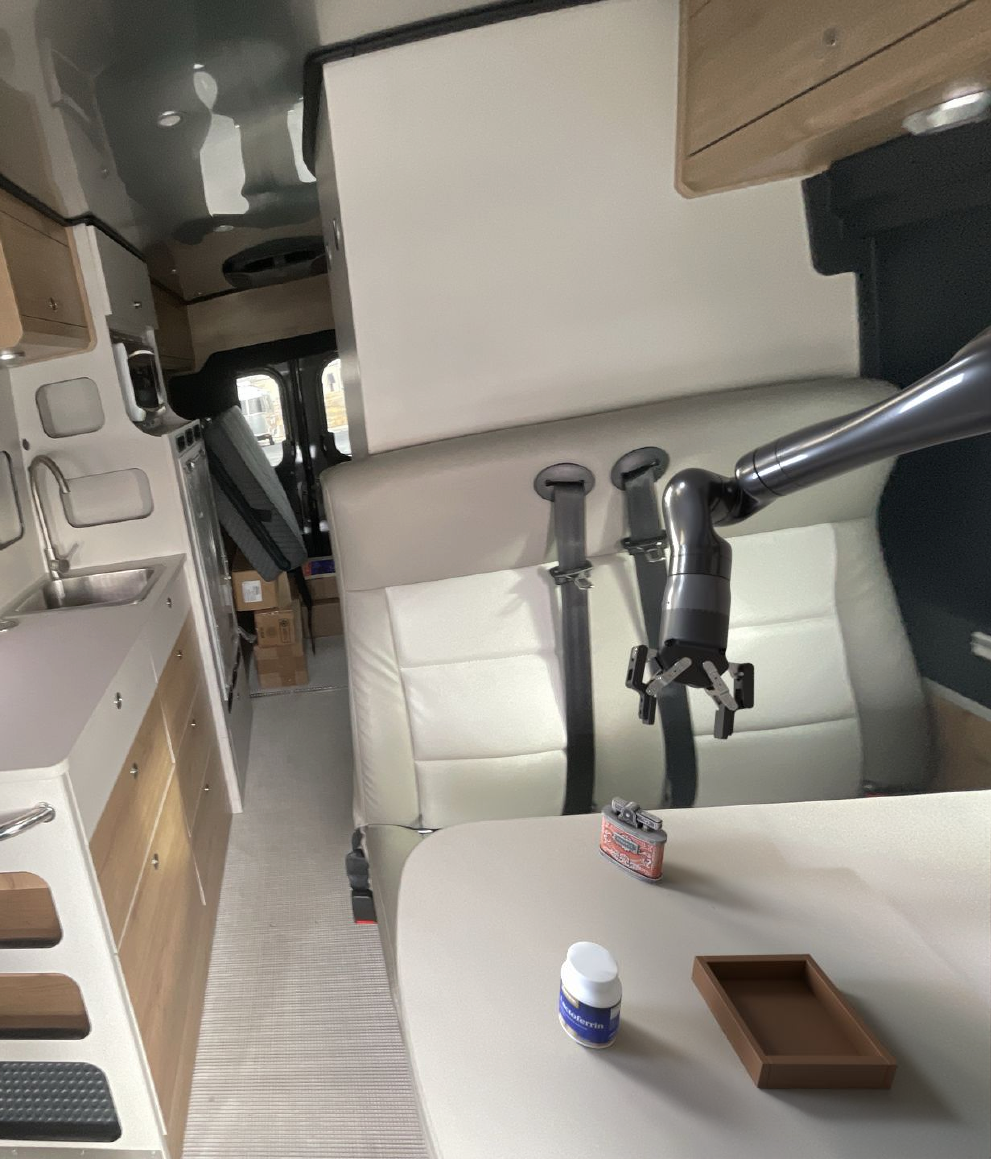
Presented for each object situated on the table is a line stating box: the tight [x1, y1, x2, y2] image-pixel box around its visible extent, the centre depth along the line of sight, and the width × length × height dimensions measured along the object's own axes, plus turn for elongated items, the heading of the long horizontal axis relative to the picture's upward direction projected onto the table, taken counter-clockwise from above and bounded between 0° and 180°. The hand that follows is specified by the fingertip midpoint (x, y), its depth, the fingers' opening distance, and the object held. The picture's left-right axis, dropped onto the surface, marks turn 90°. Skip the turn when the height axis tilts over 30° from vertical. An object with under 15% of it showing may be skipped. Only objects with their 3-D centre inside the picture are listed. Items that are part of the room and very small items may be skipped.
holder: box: [690, 953, 899, 1090], centre depth 69 cm, size 12×12×4 cm
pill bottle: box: [558, 941, 623, 1050], centre depth 71 cm, size 6×6×10 cm
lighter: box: [598, 796, 668, 886], centre depth 89 cm, size 8×3×10 cm, turn 31°
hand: (683, 731), depth 87 cm, fingers open, 8 cm apart
